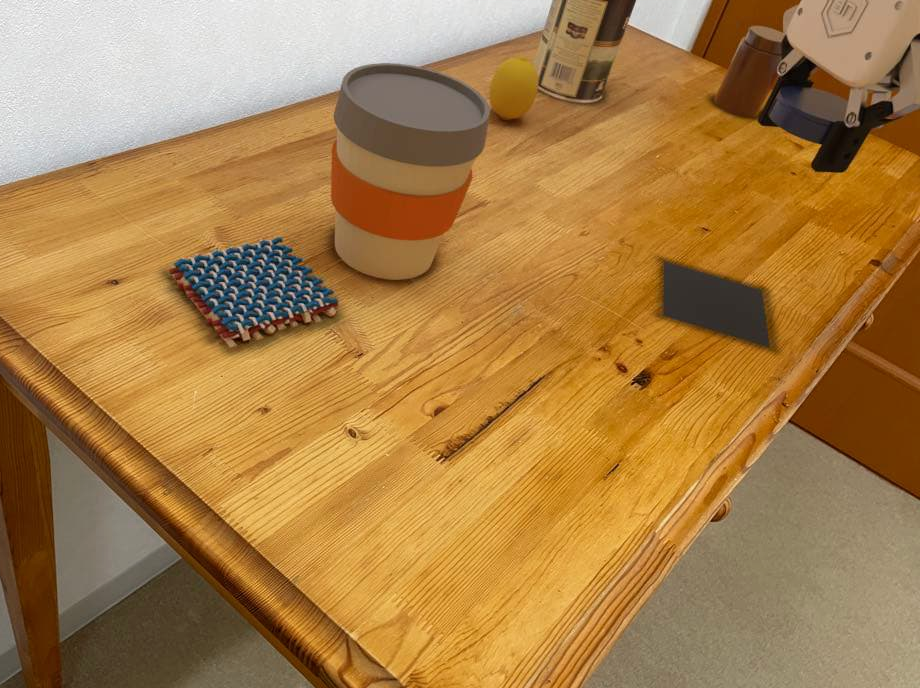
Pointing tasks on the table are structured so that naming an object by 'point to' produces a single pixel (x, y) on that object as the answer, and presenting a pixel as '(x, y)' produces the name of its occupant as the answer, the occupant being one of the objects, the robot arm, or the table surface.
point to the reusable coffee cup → (401, 164)
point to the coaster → (714, 304)
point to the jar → (751, 72)
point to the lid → (807, 112)
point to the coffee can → (580, 47)
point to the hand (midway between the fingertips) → (799, 145)
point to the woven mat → (253, 289)
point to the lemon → (514, 88)
